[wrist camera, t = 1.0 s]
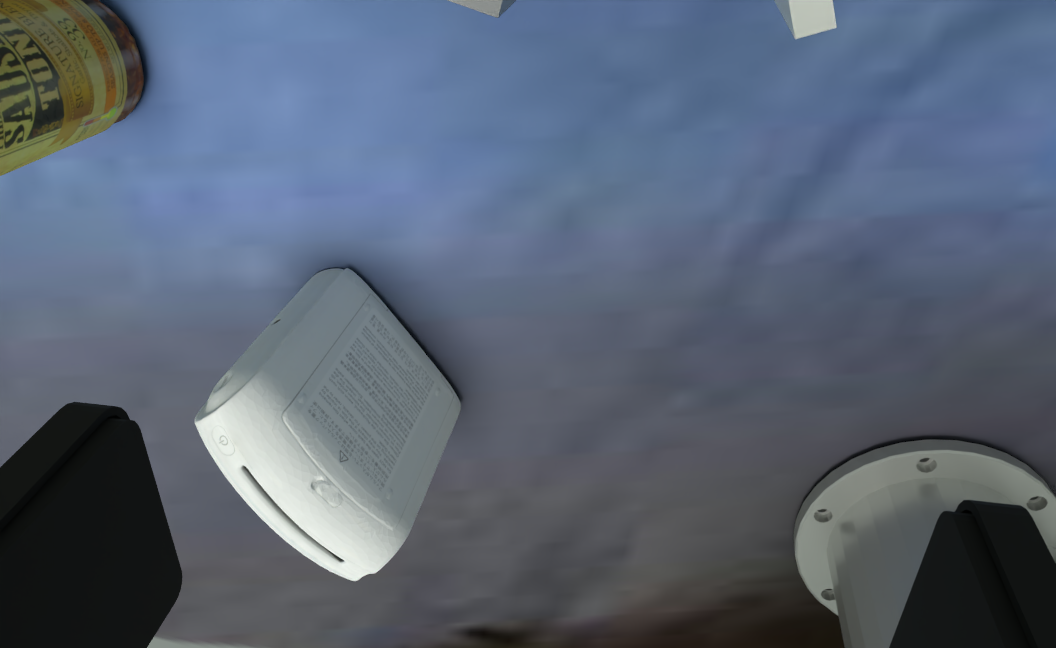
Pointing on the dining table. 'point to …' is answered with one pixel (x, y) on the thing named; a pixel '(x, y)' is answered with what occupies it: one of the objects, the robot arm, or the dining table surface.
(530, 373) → the dining table surface
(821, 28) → the side door
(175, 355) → the dining table surface
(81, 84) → the sauce bottle
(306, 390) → the photo printer
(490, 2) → the gray box
